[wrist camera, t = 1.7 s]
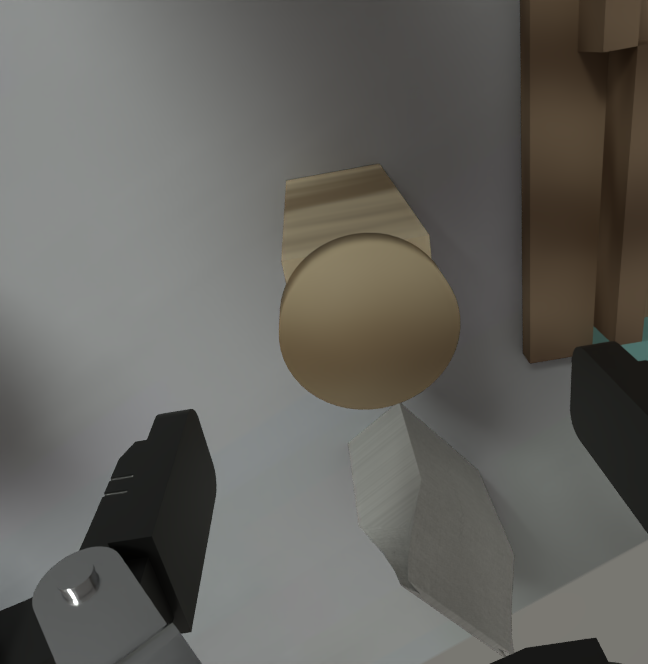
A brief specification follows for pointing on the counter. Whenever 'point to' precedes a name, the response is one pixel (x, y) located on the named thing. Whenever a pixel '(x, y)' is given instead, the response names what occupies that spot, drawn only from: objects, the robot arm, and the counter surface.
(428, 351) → the maple peg
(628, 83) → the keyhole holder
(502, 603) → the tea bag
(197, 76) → the counter surface
